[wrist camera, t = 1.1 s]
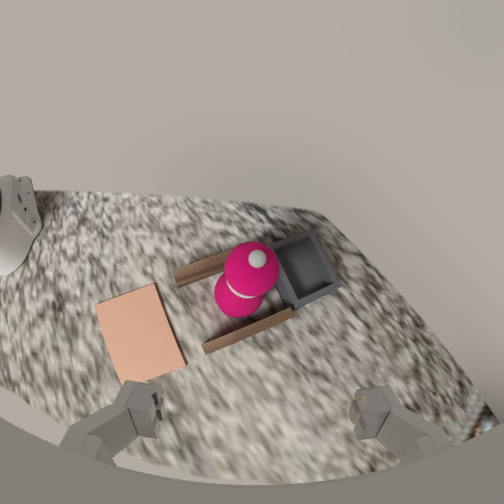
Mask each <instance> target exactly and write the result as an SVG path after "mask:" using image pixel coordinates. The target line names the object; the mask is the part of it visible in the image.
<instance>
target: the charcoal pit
mask: <svg viewBox="0 0 504 504" xmlns="http://www.w3.org/2000/svg"><path fill="white" fill-rule="evenodd" d="M266 246H268V247H269V248H270V249H271V250H272V251H273V252H274V253H275V255H276V257H277V259H278V262H279V276H278V279H277V281H276V283H275V286H276V288H277V290H278V292H279V295H280V297H281V299H282V301H283V303H284V305H285V307H286V309H287V308H289V307H291V309H292V311H293V310H295V309H297V308H299V307H301V306H304V305H306V304H308V303H310V302H312V301H314V300H316V299H318V298H320V297H322V296H324V295H326V294H328V293H330V292H332V291H334V290H336V289H337V288H339V287H341V284H340V282H339V280H338V278H337V276H336V274H335V272H334V270H333V268H332V266H331V264H330V262H329V260H328V258H327V256H326V254H325V253H324V251H323V249H322V247H321V245H320V243H319V241H318V239H317V237H316V235H315V234H314V232H313V230H312V229H309V230H306V231H304V232H301V233H298V234H295V235H293V236H290V237H287V238H284V239H282V240H279V241H276V242H273V243H271V244H268V245H266Z"/></svg>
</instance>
